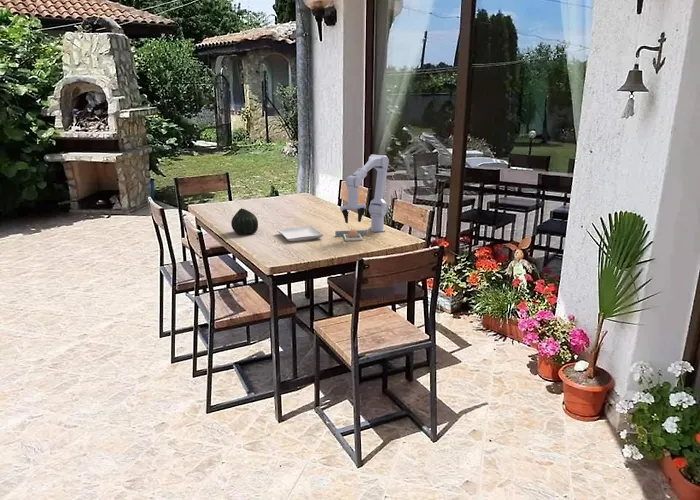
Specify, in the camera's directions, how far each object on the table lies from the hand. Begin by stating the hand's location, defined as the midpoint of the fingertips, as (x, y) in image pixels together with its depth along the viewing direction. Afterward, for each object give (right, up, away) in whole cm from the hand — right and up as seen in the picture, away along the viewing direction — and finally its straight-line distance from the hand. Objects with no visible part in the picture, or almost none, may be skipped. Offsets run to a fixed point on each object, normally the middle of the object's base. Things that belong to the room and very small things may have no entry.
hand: (352, 222), depth 296 cm
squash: (-62, -6, +13) cm, 64 cm away
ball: (0, -6, +2) cm, 7 cm away
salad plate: (-30, -8, +6) cm, 32 cm away
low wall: (-1, -7, +8) cm, 11 cm away
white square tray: (0, -9, +3) cm, 9 cm away
